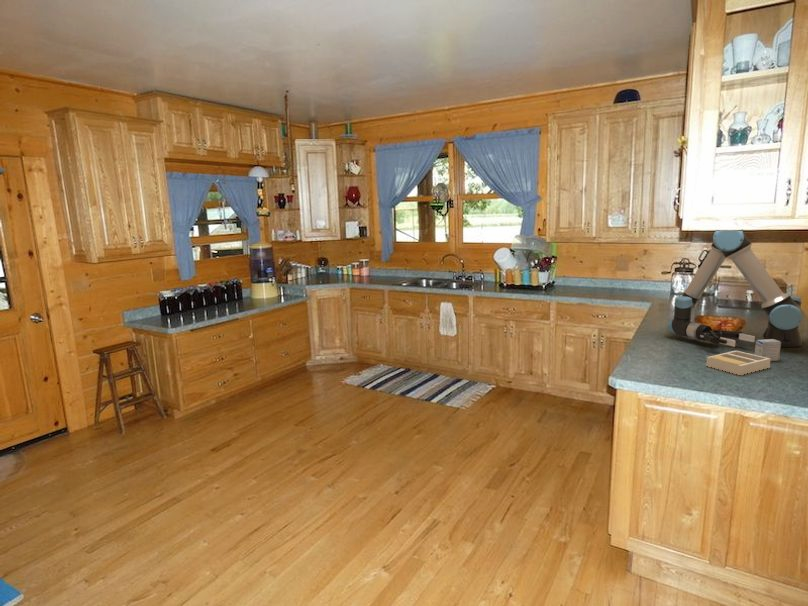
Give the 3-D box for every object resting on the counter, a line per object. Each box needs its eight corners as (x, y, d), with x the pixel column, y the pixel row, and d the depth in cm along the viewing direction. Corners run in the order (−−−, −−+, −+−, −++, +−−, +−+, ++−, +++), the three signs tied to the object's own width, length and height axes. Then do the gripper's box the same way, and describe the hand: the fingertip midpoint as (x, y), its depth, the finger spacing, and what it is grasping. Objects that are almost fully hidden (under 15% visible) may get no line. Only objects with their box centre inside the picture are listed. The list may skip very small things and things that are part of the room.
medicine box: (771, 358, 215) (773, 338, 213) (779, 361, 210) (781, 341, 209) (753, 358, 214) (755, 339, 213) (761, 361, 210) (763, 342, 208)
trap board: (735, 359, 215) (736, 349, 214) (769, 367, 202) (770, 357, 201) (706, 366, 207) (706, 356, 206) (740, 375, 194) (741, 365, 194)
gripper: (716, 335, 244) (761, 345, 225) (681, 342, 235) (725, 353, 216) (717, 321, 243) (762, 329, 224) (682, 327, 233) (727, 337, 214)
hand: (744, 341), depth 220 cm, fingers open, 13 cm apart
